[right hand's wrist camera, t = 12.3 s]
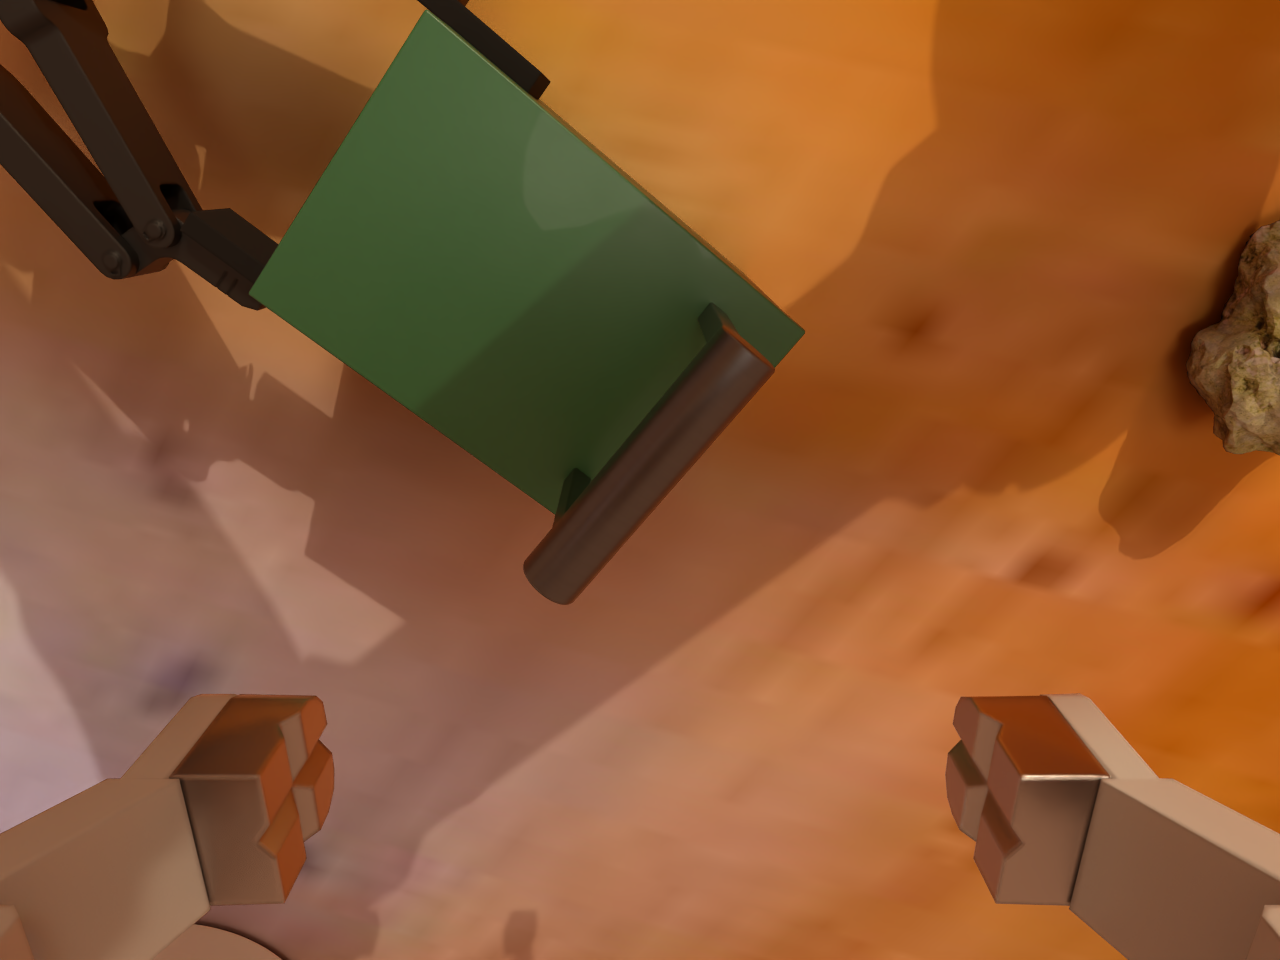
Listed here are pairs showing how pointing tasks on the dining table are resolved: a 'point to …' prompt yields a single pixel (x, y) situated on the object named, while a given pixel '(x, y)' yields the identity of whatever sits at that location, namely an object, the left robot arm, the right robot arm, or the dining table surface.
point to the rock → (1245, 352)
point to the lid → (522, 300)
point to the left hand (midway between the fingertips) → (449, 218)
